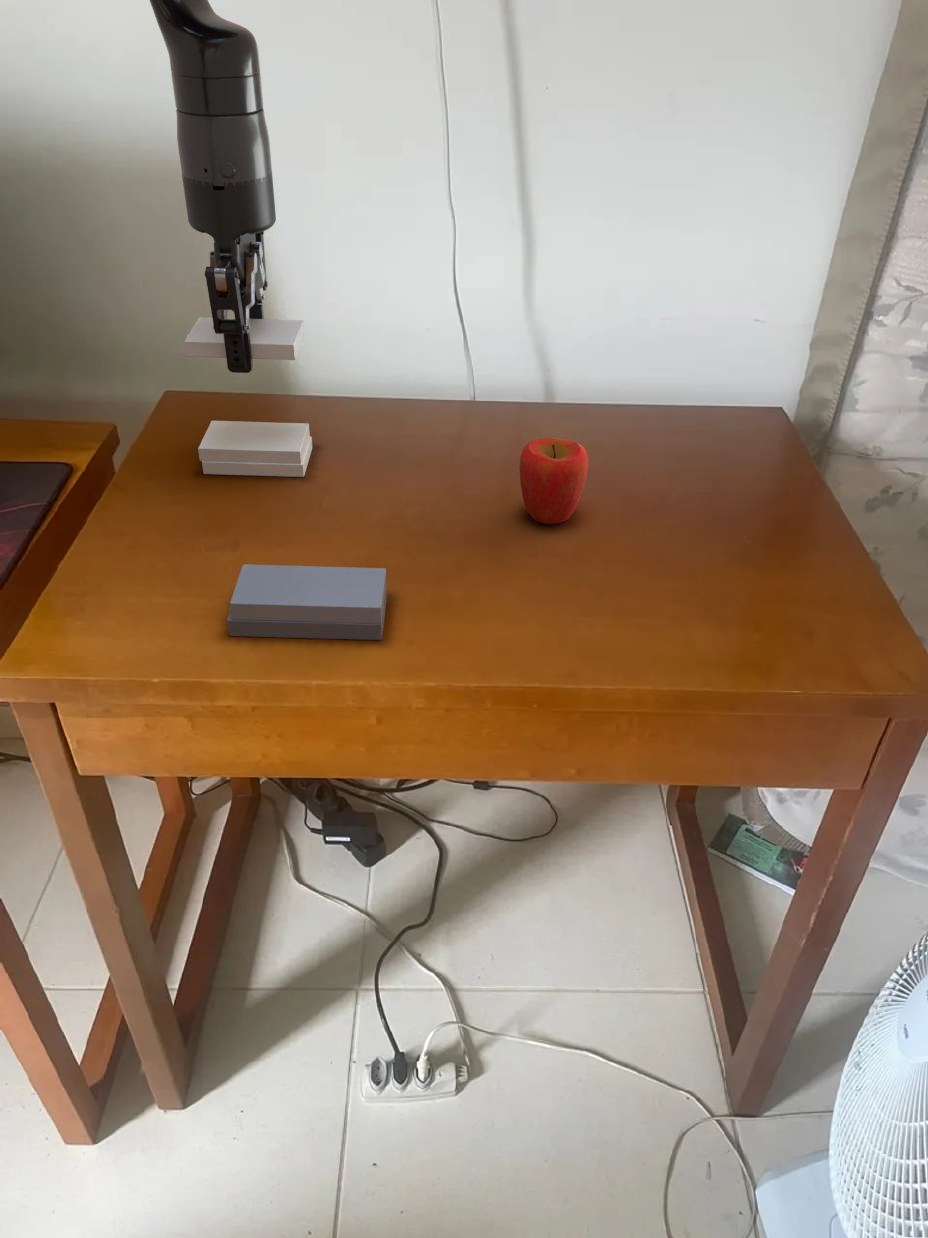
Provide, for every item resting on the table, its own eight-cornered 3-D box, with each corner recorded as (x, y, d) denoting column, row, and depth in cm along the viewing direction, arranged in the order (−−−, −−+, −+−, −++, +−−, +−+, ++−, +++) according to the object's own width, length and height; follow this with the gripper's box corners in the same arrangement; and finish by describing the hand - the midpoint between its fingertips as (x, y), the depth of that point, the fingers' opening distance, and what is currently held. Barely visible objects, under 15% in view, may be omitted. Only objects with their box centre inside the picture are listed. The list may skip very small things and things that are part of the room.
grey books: (228, 636, 77) (223, 603, 75) (242, 595, 81) (238, 563, 79) (381, 640, 77) (380, 608, 75) (386, 599, 81) (386, 567, 80)
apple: (562, 494, 96) (569, 424, 92) (594, 525, 92) (603, 452, 87) (505, 506, 94) (509, 435, 90) (534, 538, 90) (540, 465, 85)
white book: (186, 356, 90) (183, 341, 89) (201, 331, 95) (199, 316, 94) (295, 360, 90) (293, 344, 89) (304, 334, 95) (303, 319, 94)
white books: (201, 474, 97) (197, 448, 96) (214, 444, 102) (211, 420, 101) (304, 477, 98) (302, 451, 96) (312, 447, 103) (310, 423, 101)
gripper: (201, 147, 89) (223, 327, 99) (160, 187, 77) (190, 387, 87) (284, 149, 89) (298, 329, 99) (255, 190, 77) (274, 389, 88)
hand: (247, 356), depth 93 cm, fingers closed on white book, 6 cm apart
